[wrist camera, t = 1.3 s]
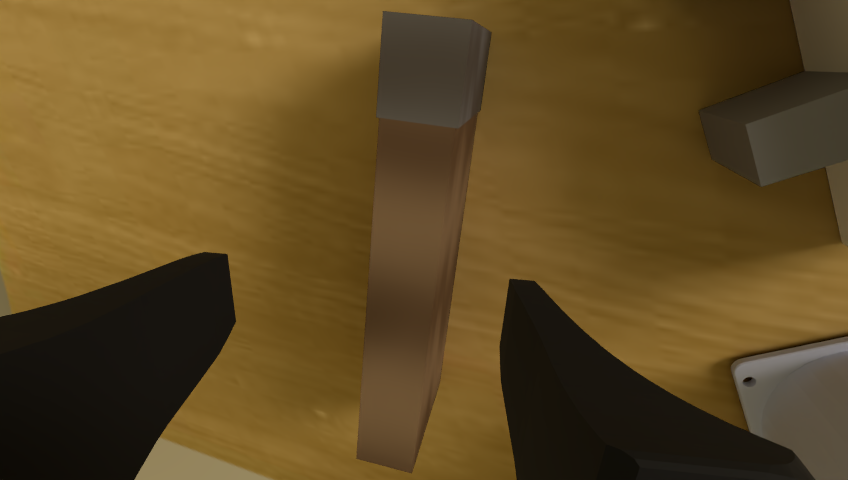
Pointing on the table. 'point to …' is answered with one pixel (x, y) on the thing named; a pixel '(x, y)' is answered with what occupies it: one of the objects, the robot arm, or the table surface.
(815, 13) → the cream rectangular block
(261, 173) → the table surface
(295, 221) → the table surface
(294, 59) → the table surface
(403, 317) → the rail
